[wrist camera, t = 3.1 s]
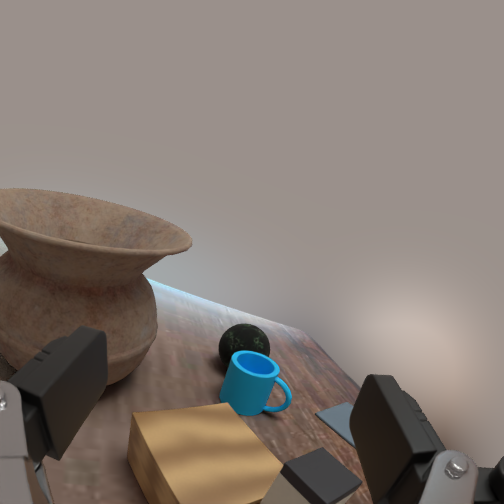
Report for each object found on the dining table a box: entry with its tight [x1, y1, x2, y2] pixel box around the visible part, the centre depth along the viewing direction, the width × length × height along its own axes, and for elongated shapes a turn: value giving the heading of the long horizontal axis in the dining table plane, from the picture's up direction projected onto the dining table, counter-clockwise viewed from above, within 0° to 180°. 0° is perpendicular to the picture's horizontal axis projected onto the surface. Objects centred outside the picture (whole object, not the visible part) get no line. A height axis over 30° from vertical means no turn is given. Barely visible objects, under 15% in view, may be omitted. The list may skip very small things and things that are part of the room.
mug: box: [219, 351, 292, 416], centre depth 51 cm, size 12×8×8 cm
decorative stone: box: [219, 324, 270, 368], centre depth 62 cm, size 10×10×10 cm
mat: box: [315, 402, 356, 449], centre depth 52 cm, size 12×10×1 cm
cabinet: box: [127, 403, 283, 504], centre depth 29 cm, size 15×13×9 cm
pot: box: [0, 188, 192, 385], centre depth 44 cm, size 34×34×25 cm
